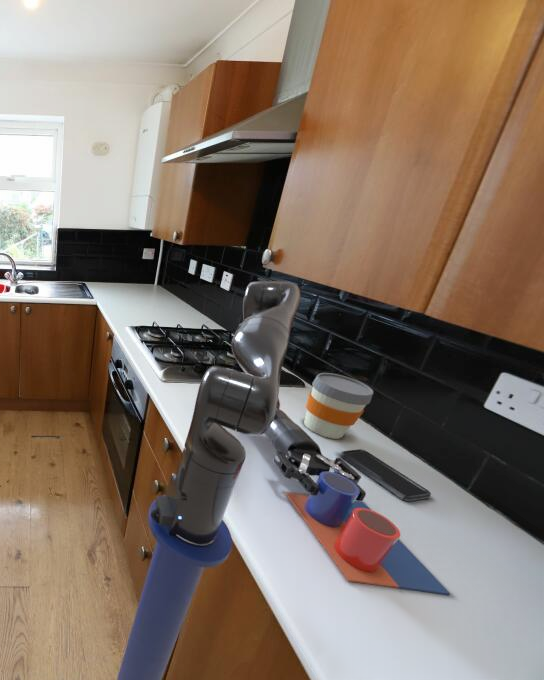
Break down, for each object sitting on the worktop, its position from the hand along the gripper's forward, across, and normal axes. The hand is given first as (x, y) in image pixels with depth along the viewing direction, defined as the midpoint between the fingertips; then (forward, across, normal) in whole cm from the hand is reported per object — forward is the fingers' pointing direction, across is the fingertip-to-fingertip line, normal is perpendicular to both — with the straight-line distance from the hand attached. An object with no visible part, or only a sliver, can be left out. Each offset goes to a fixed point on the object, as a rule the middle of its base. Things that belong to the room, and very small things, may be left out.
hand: (339, 495), depth 68 cm
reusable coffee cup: (-34, +21, +7) cm, 41 cm away
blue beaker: (-1, 0, +6) cm, 7 cm away
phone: (-16, +23, +7) cm, 29 cm away
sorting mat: (+3, +4, +7) cm, 8 cm away
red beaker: (+8, 0, +6) cm, 10 cm away
